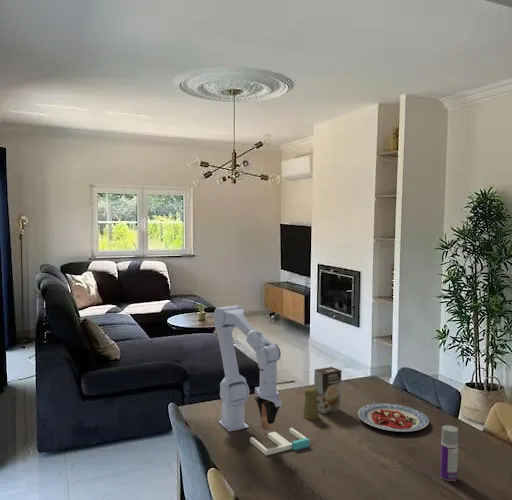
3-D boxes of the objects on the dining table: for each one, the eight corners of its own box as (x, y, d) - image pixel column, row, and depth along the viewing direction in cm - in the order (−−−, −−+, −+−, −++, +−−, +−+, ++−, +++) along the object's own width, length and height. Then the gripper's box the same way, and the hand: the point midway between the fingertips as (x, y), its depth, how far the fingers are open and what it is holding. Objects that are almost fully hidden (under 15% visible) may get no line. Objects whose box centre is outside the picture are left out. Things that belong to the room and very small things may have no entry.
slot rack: (249, 441, 166) (250, 434, 166) (291, 431, 174) (291, 424, 174) (268, 457, 155) (268, 449, 155) (311, 445, 163) (312, 438, 163)
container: (437, 473, 146) (438, 425, 145) (452, 473, 146) (453, 424, 145) (444, 482, 141) (446, 432, 140) (460, 481, 141) (461, 431, 141)
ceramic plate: (352, 429, 177) (352, 421, 177) (364, 404, 201) (364, 397, 201) (426, 442, 167) (427, 433, 167) (430, 414, 191) (430, 407, 191)
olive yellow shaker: (318, 420, 184) (318, 391, 184) (302, 418, 185) (302, 390, 185) (319, 414, 190) (319, 386, 189) (303, 412, 191) (304, 385, 191)
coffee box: (323, 414, 190) (323, 373, 189) (313, 408, 196) (313, 369, 195) (341, 409, 195) (341, 370, 194) (330, 404, 200) (331, 366, 199)
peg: (259, 425, 164) (259, 402, 163) (269, 423, 166) (269, 400, 165) (265, 430, 160) (265, 406, 160) (275, 428, 162) (276, 404, 162)
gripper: (289, 385, 158) (289, 426, 159) (267, 372, 170) (267, 410, 171) (271, 388, 154) (270, 430, 155) (249, 375, 167) (249, 414, 168)
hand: (267, 420), depth 163 cm, fingers closed on peg, 4 cm apart
